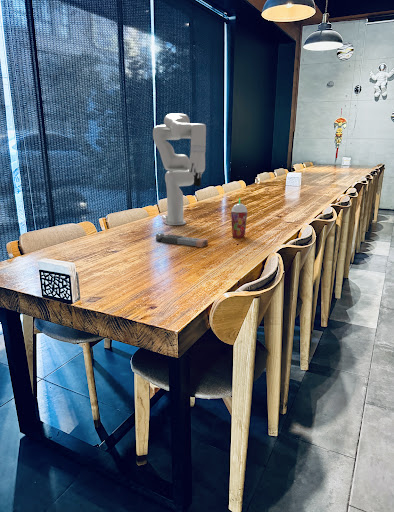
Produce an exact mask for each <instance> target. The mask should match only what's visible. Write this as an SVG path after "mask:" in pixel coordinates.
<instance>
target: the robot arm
mask: <svg viewBox="0 0 394 512" xmlns="http://www.w3.org/2000/svg"><path fill="white" fill-rule="evenodd" d="M190 122H191V120H190V118H189V116H188V114H184V113H168V114H167V115H165V116H164V120H163V123H164V124H160V125H156V126H155V127H153V130H152V138H153V141H154V144H155V147H156V148H157V150H158V152H159V156H160V158H161V161H162V165H163V167H164V169H165V170H166V173H165V175H164V181H165V186H166V187H165V188H166V204H167V205H166V207H167V211H166V212H167V215H162V220H165V221H164V224H165V225H167V226H168V225H169V226H182V225H183V226H184V225H185V224H187V221H186V220H184V192H183V190H181V188H180V187H189V186H192V185H193V186H194V187H201V185H202V184H201V183H202V174H204V172H205V170H206V149H207V148H206V147H207V146H206V143H207V142H206V141H207V140H206V139H207V138H206V137H207V125H206V124H205V123H195V122H194V123H192V122H191V123H190ZM180 139H190V154H189V157H188V155H186V154H183V153H180V154H179V153H178V154H177V153H175V149H174V147H173V146H172V144H170V142H169V140H170V141H179V140H180Z"/></svg>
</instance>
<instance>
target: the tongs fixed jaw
mask: <svg viewBox="0 0 394 512" xmlns="http://www.w3.org/2000/svg"><path fill="white" fill-rule="evenodd" d="M161 243H164V244H172V245H183V246H192V247H197V248H204V247H205V241H204V240H194V239H186V238H179V237H172V236H163V237H162V241H161Z"/></svg>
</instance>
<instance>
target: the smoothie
mask: <svg viewBox="0 0 394 512" xmlns="http://www.w3.org/2000/svg"><path fill="white" fill-rule="evenodd" d="M230 214H231V215H230V216H231V220H230V221H231V235H232V237H233V238H235V239H236V238H237V239H242V238H244V237H245V235H246V228H247V221H248V220H247V218H248V208H247V206H245V204H243V203H241V197H239V198H238V203H236V204H234V205H233V206H232V209H231V210H230Z"/></svg>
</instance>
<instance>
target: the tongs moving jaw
mask: <svg viewBox="0 0 394 512" xmlns="http://www.w3.org/2000/svg"><path fill="white" fill-rule="evenodd" d="M163 236H172V237H179V238H186V239H194V240H204V241H205V246H207V245H209V239H208V238H202V237H201V238H197V237H188V236H183V235H177V234H164V233H156V234H155V241H157V242H162V237H163ZM205 246H204V247H205Z"/></svg>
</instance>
